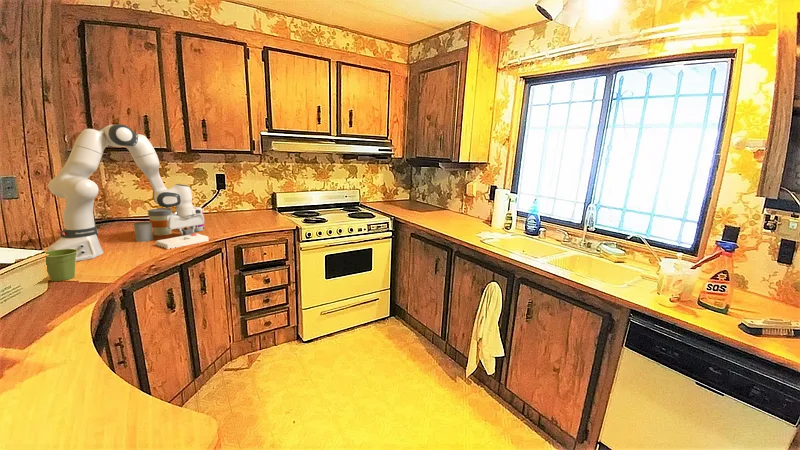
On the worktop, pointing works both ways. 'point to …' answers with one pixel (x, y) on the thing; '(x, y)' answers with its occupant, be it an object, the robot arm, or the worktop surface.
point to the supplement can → (198, 227)
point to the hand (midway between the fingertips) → (187, 234)
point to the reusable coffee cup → (159, 220)
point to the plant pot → (61, 264)
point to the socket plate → (182, 240)
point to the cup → (143, 231)
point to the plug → (187, 231)
